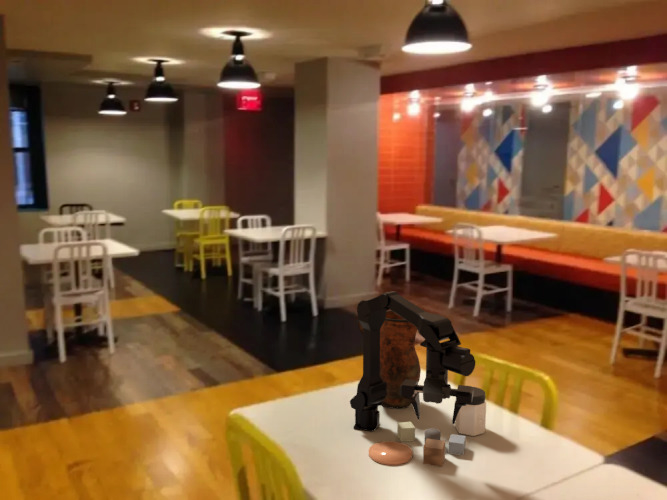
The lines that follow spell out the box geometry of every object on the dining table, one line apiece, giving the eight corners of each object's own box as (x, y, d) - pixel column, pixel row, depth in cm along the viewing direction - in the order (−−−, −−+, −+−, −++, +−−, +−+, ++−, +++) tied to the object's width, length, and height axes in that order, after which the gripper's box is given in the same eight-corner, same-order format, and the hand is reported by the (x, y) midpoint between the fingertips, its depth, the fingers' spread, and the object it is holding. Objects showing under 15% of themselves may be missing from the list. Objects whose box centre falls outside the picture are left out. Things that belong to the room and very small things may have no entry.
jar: (469, 438, 181) (470, 399, 179) (449, 428, 188) (450, 390, 186) (490, 431, 186) (492, 392, 184) (470, 421, 192) (472, 384, 190)
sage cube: (401, 441, 179) (401, 428, 179) (397, 435, 183) (397, 422, 183) (414, 440, 180) (415, 427, 180) (410, 434, 184) (410, 421, 183)
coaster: (363, 461, 168) (363, 458, 168) (374, 441, 180) (374, 438, 179) (407, 468, 165) (407, 465, 164) (416, 447, 176) (416, 444, 176)
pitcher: (411, 416, 196) (413, 323, 191) (349, 405, 205) (349, 316, 200) (426, 397, 211) (428, 310, 206) (367, 388, 219) (367, 304, 215)
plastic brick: (448, 453, 172) (448, 441, 172) (450, 445, 177) (451, 434, 177) (463, 455, 171) (463, 443, 171) (465, 447, 176) (465, 435, 175)
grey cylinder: (423, 447, 176) (423, 433, 175) (426, 440, 180) (426, 427, 179) (438, 449, 175) (439, 436, 174) (441, 442, 179) (441, 429, 178)
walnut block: (423, 464, 167) (423, 446, 166) (426, 455, 171) (426, 438, 171) (441, 467, 165) (442, 449, 164) (444, 458, 170) (445, 441, 169)
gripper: (395, 372, 159) (395, 430, 162) (470, 380, 154) (468, 439, 156) (404, 358, 170) (403, 412, 172) (474, 365, 164) (472, 421, 167)
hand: (435, 421), depth 167 cm, fingers open, 9 cm apart
